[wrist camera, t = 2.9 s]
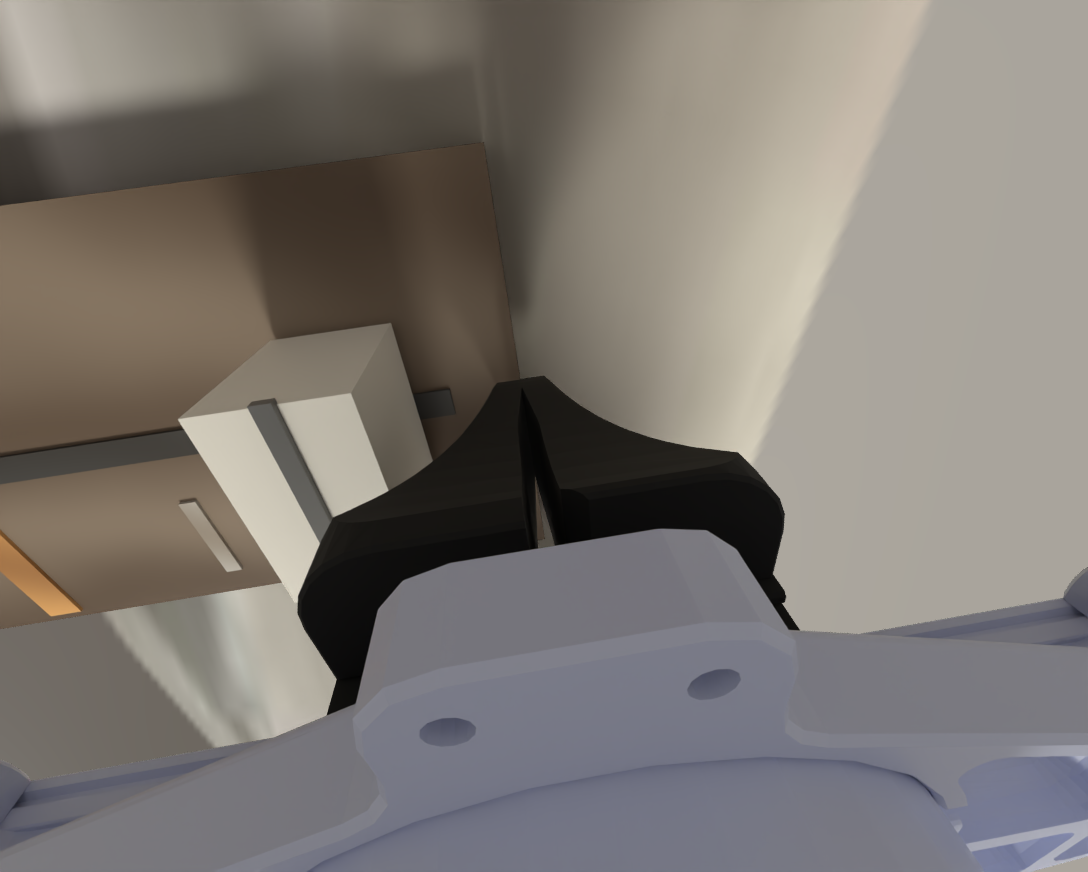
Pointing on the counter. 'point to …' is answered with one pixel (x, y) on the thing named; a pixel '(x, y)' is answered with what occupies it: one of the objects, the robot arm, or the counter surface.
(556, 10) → the counter surface
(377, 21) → the counter surface
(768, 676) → the robot arm
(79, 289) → the fader console
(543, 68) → the counter surface
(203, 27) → the counter surface
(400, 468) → the fader knob
